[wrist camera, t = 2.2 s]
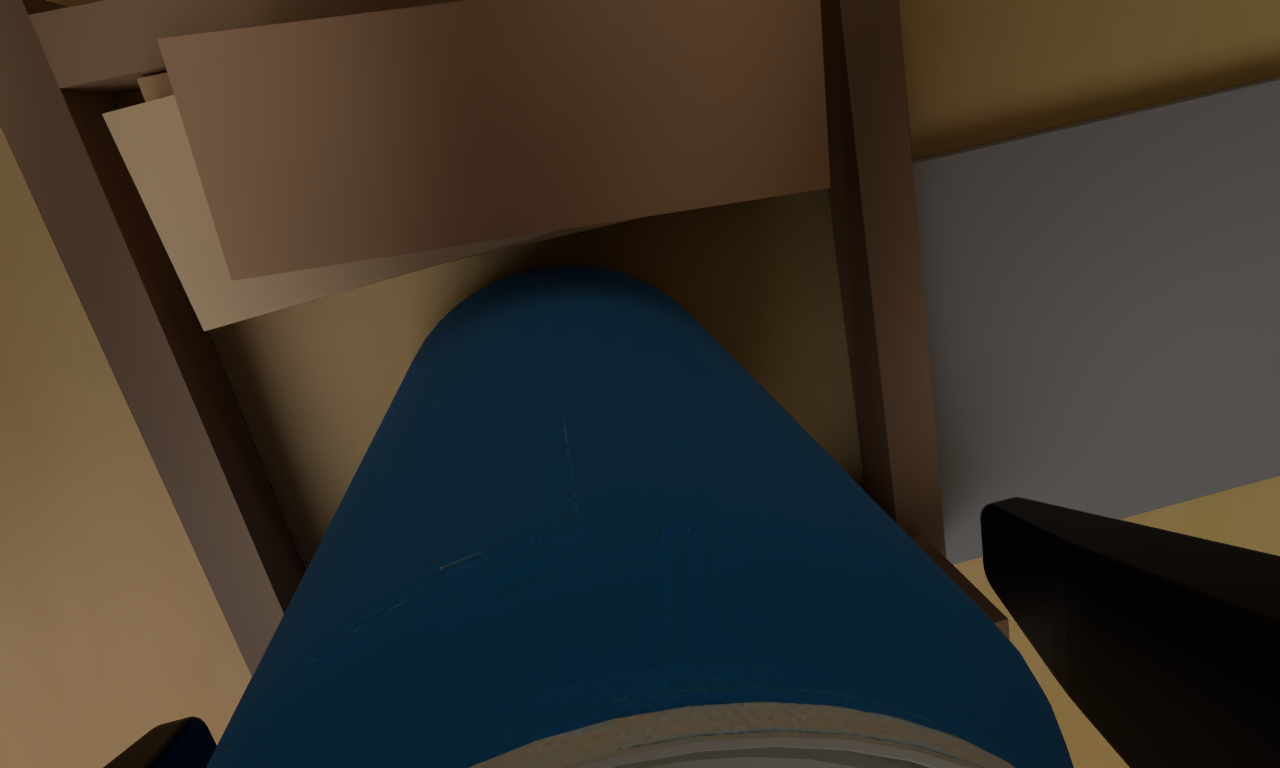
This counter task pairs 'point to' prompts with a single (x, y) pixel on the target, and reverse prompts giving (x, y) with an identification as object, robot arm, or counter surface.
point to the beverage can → (620, 573)
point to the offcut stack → (461, 134)
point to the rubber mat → (1106, 310)
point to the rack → (192, 373)
